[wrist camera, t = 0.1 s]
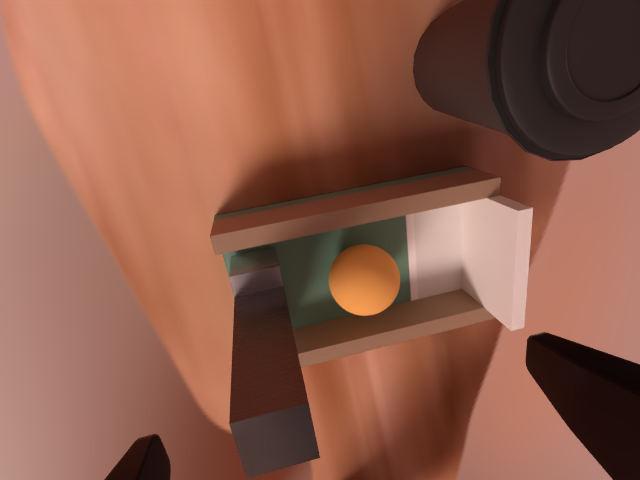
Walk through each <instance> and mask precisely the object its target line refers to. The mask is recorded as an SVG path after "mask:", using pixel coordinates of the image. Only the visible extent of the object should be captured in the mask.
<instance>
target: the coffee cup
mask: <svg viewBox="0 0 640 480" xmlns="http://www.w3.org/2000/svg"><path fill="white" fill-rule="evenodd" d="M413 74H414V79H415V84H416V88H417V90H418V91H419V93H420V95H421V97H422V99H423V100H424V101H425V102H426V103H427V104H428V105H429V106H430V107H432V108H433V109H434V110H437V111H440V112H442V113H445V114H448V115H451V116H454V117H457V118H460V119H463V120H466V121H469V122H472V123H475V124H479V125H482V126H485V127H488V128H491V129H494V130H497V131H500V132H503V133H506V134H508V135H509V136H510V137H511V138H512V139H513V140H514V141H515V142H516V143H517V144H518V145H519V146H520V147H521V148H522V149H523V150H524V151H525V152H528V153H531V154H534V155H536V156H539V157H542V158H545V159H547V160H550V161H566V160H582V159H584V158H587V157H589V156H592V155H595V154H597V153H600V152H602V151H605V150H608V149H610V148H612V147H614V146H616V145H618V144H620V143H622V142H623V141H625V140H626V139H628V138H629V137H631V136H632V135H634V134H635V133H636V132H638V131H639V130H640V0H462V1H461V2H459V3H458V4H457V5H455V6H454V7H452V8H451V9H449V10H448V11H447V12H445V13H444V14H442V15H441V16H440V17H439V18H437V19H436V20H435V21H434V22H432V23H431V24H430V25H429V26H428V28H427V29H426V31H425V32H424V34H423V35H422V37H421V38H420V40H419V43H418V46H417V49H416V52H415V55H414V67H413Z"/></svg>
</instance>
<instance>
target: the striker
mask: <svg viewBox="0 0 640 480" xmlns="http://www.w3.org/2000/svg"><path fill="white" fill-rule="evenodd" d="M229 278H230V282H231V285H232V289H233V293H234V296H235V302H234V326H233V350H232V374H231V398H230V422H229V424H230V427H231V430H232V433H233V436H234V439H235V442H236V445H237V449H238V452H239V455H240V458H241V461H242V464H243V467H244V470H245V473H246V476H247V478H250V477H254V476H257V475H261V474H264V473H268V472H271V471H275V470H278V469H282V468H285V467H289V466H292V465H296V464H299V463H303V462H306V461H310V460H314V459H317V458H320V456H319V451H318V446H317V441H316V437H315V432H314V427H313V422H312V418H311V413H310V408H309V403H308V399H307V394H306V389H305V385H304V380H303V375H302V371H301V366H300V361H299V357H298V352H297V347H296V343H295V338H294V333H293V329H292V324H291V319H290V315H289V310H288V305H287V301H286V296H285V291H284V287H283V282H282V277H281V272H280V268H279V263H278V258H277V254H276V249H275V247H271V248H266V249H261V250H256V251H252V252H247V253H242V254H237V255H233V256H231V261H230V274H229Z"/></svg>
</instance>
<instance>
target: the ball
mask: <svg viewBox="0 0 640 480" xmlns="http://www.w3.org/2000/svg"><path fill="white" fill-rule="evenodd" d="M329 287H330V291H331V293H332V296H333V297H334V299H335V301H336V302H337V303H338V304H339V305H340V306H341V307H342V308H343V309H345V310H346V311H348V312H350V313H353V314H356V315H361V316H368V315H374V314H377V313H380V312H382V311H383V310H385V309H386V308H388V307H389V306H390V305H391V304H392V302H393V301H394V300H395V298H396V296H397V294H398V291H399V287H400V274H399V270H398V267H397V265H396V263H395V261H394V260H393V258H392V257H391V256H390V255H389V254H388V253H387V252H386V251H384V250H383V249H381V248H379V247H376V246H373V245H368V244H360V245H355V246H352V247H349V248H347V249H345V250H344V251H343V252H341V253H340V254H339V255H338V256H337V257H336V259H335V260H334V262H333V263H332V265H331V268H330V272H329Z"/></svg>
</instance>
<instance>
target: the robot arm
mask: <svg viewBox="0 0 640 480" xmlns="http://www.w3.org/2000/svg"><path fill="white" fill-rule="evenodd" d="M526 366H527V369H528V371H529V372H530V374H531V375H532V377H533V378H534V380H535V381H536V382H537V384H538V385H539V386H540V388H541V389H542V391H543V392H544V394H545V395H546V396H547V398H548V399H549V401H550V402H551V403H552V405H553V406H554V408H555V409H556V410H557V412H558V413H559V415H560V416H561V418H562V419H563V420H564V421H565V423H566V424H567V426H568V427H569V428H570V429H571V431H572V432H573V433H574V434H575V436H576V437H577V438H578V439H579V440H580V441H581V443H582V444H583V445H584V446H585V447H586V448H587V450H588V451H589V452H590V453H591V454H592V455H593V457H594V458H595V459H596V460H597V461H598V462H599V464H600V465H601V466H602V467H603V468H604V470H605V471H606V472H607V473H608V474H609V475H610V477H611V478H612V479H613V480H640V364H637V363H634V362H631V361H628V360H625V359H622V358H619V357H616V356H613V355H611V354H608V353H605V352H602V351H599V350H596V349H593V348H590V347H587V346H584V345H581V344H578V343H576V342H573V341H570V340H567V339H564V338H561V337H558V336H555V335H552V334H549V333H545V332H543V333H539V334H535V335H531V336H529V338H528V339H527V350H526ZM170 469H171V468H170V460H169V457H168V455H167V453H166V450H165V448H164V445H163V443H162V441H161V439H160V437H159V436H158V435H157V434H152V435H149V436H145V437H141V438H139V439H137V440H136V441H135V442H134V443H133V445H132V446H131V447H130V448H129V450H128V451H127V452H126V454H125V455H124V456H123V457H122V458H121V460H120V461H119V462H118V463H117V465H116V466H115V467H114V468H113V470H112V471H111V472H110V473H109V475H108V476H107V477H106V478H105V480H170V471H171V470H170Z"/></svg>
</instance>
